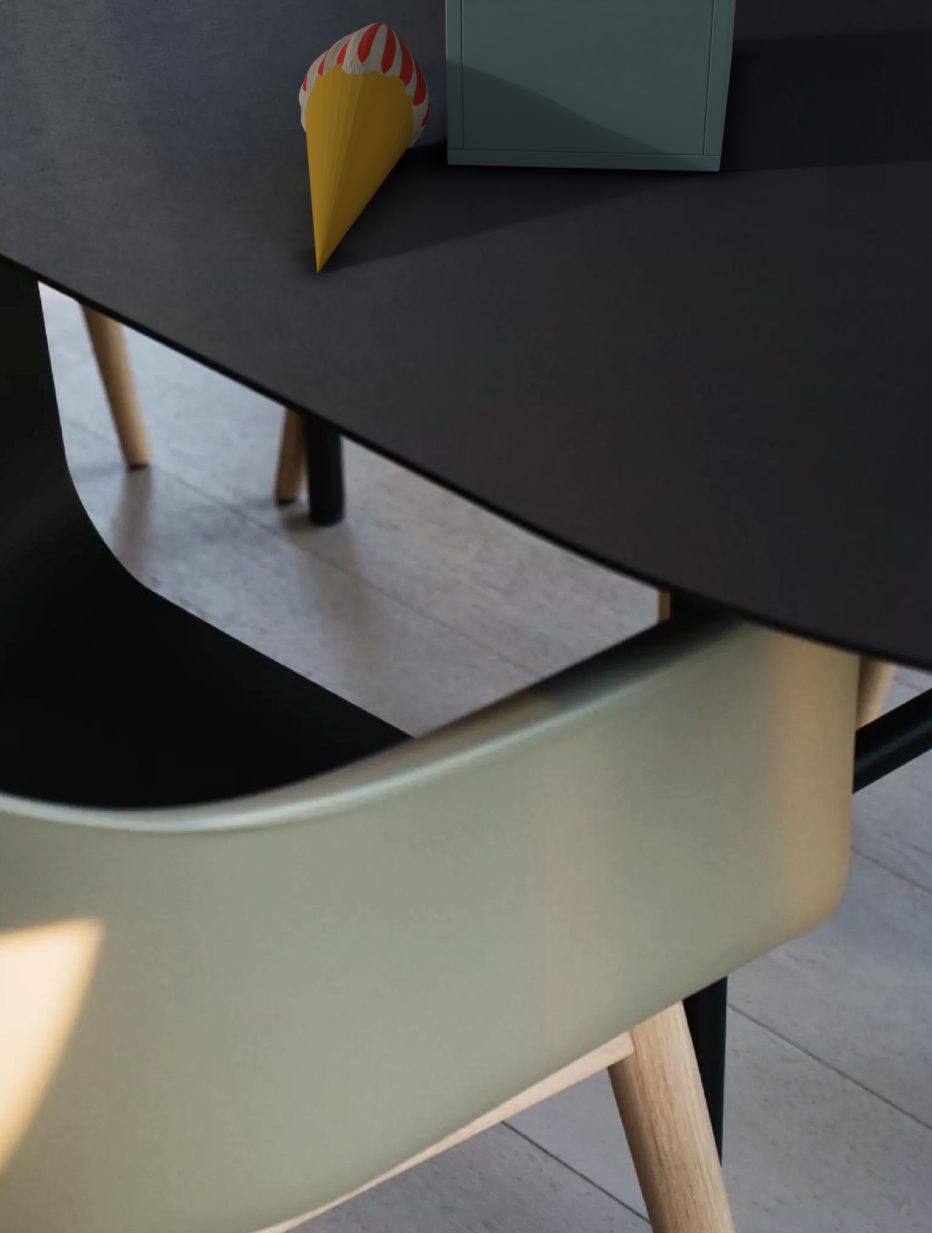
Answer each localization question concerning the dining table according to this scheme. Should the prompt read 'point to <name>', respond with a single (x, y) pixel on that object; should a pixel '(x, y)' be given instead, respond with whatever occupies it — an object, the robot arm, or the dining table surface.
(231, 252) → the dining table surface
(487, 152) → the bin
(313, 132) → the ice cream cone
